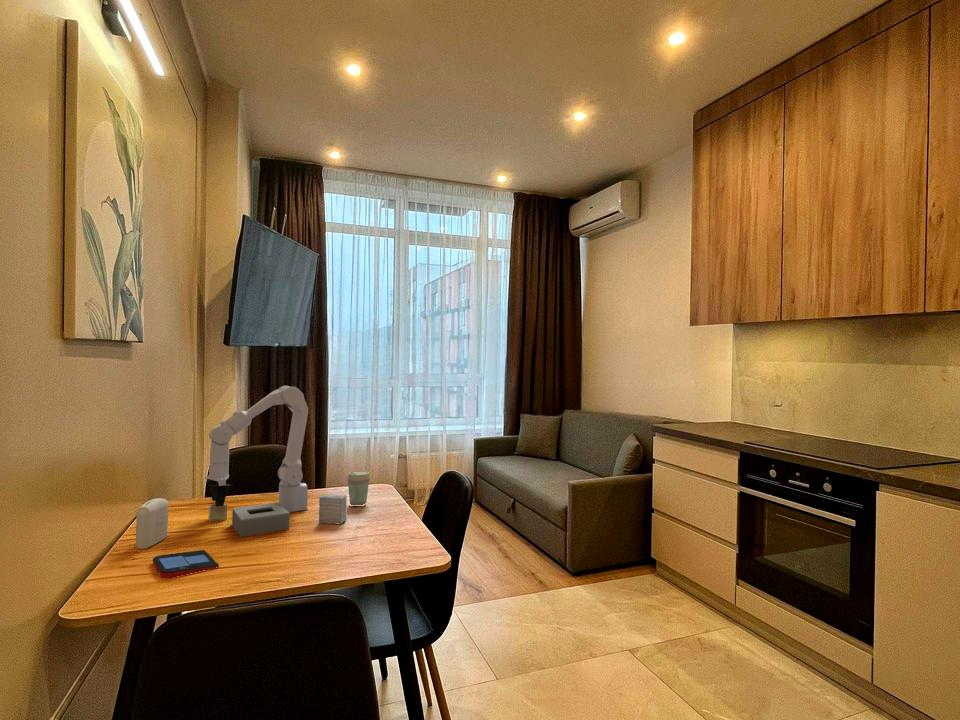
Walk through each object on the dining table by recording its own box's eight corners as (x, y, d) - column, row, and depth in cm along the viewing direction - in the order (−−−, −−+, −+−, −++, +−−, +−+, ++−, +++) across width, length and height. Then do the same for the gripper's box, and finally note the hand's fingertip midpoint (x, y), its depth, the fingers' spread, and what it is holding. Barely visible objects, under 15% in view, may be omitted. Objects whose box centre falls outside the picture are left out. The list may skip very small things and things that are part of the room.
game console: (219, 569, 129) (220, 561, 129) (161, 583, 121) (161, 573, 121) (205, 553, 140) (205, 545, 140) (150, 564, 131) (151, 555, 131)
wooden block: (225, 517, 171) (225, 502, 171) (226, 519, 168) (227, 504, 168) (208, 519, 168) (208, 504, 168) (209, 522, 165) (210, 506, 165)
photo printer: (155, 536, 150) (156, 495, 151) (169, 537, 151) (171, 495, 151) (132, 549, 140) (133, 504, 140) (148, 549, 140) (149, 504, 140)
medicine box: (346, 520, 170) (347, 495, 170) (341, 525, 166) (342, 498, 166) (323, 519, 171) (324, 493, 171) (318, 523, 166) (319, 497, 166)
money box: (277, 517, 171) (277, 502, 171) (289, 529, 160) (289, 512, 160) (232, 524, 163) (232, 508, 163) (240, 537, 152) (241, 519, 152)
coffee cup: (347, 502, 193) (348, 470, 193) (370, 501, 194) (371, 470, 194) (344, 508, 184) (345, 475, 185) (368, 508, 185) (369, 475, 185)
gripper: (202, 459, 172) (201, 499, 171) (209, 467, 160) (207, 510, 160) (225, 457, 176) (224, 497, 176) (233, 465, 164) (232, 507, 164)
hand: (217, 503), depth 168 cm, fingers open, 7 cm apart
